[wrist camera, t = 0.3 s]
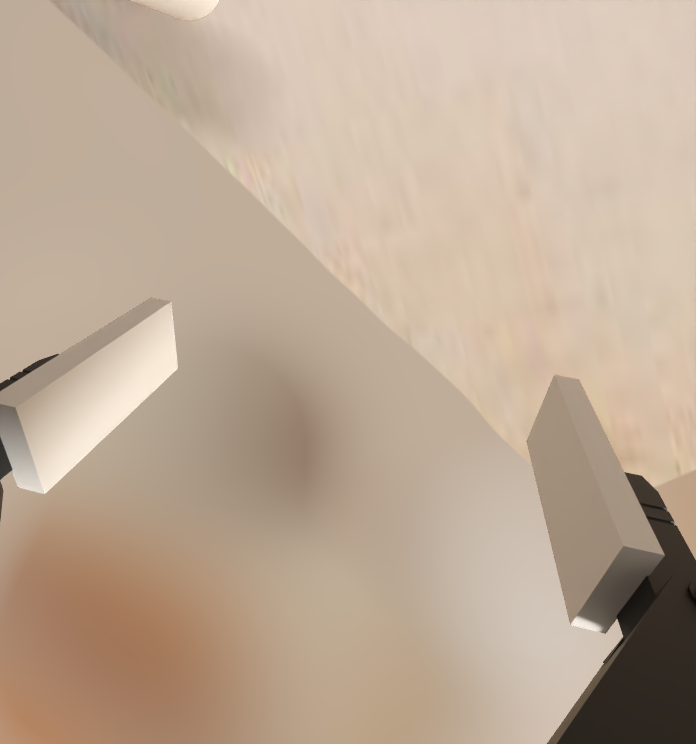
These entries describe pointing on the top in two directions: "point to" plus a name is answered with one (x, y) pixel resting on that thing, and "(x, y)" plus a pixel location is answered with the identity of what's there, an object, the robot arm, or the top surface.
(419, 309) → the top surface
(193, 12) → the cylindrical container
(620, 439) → the top surface
